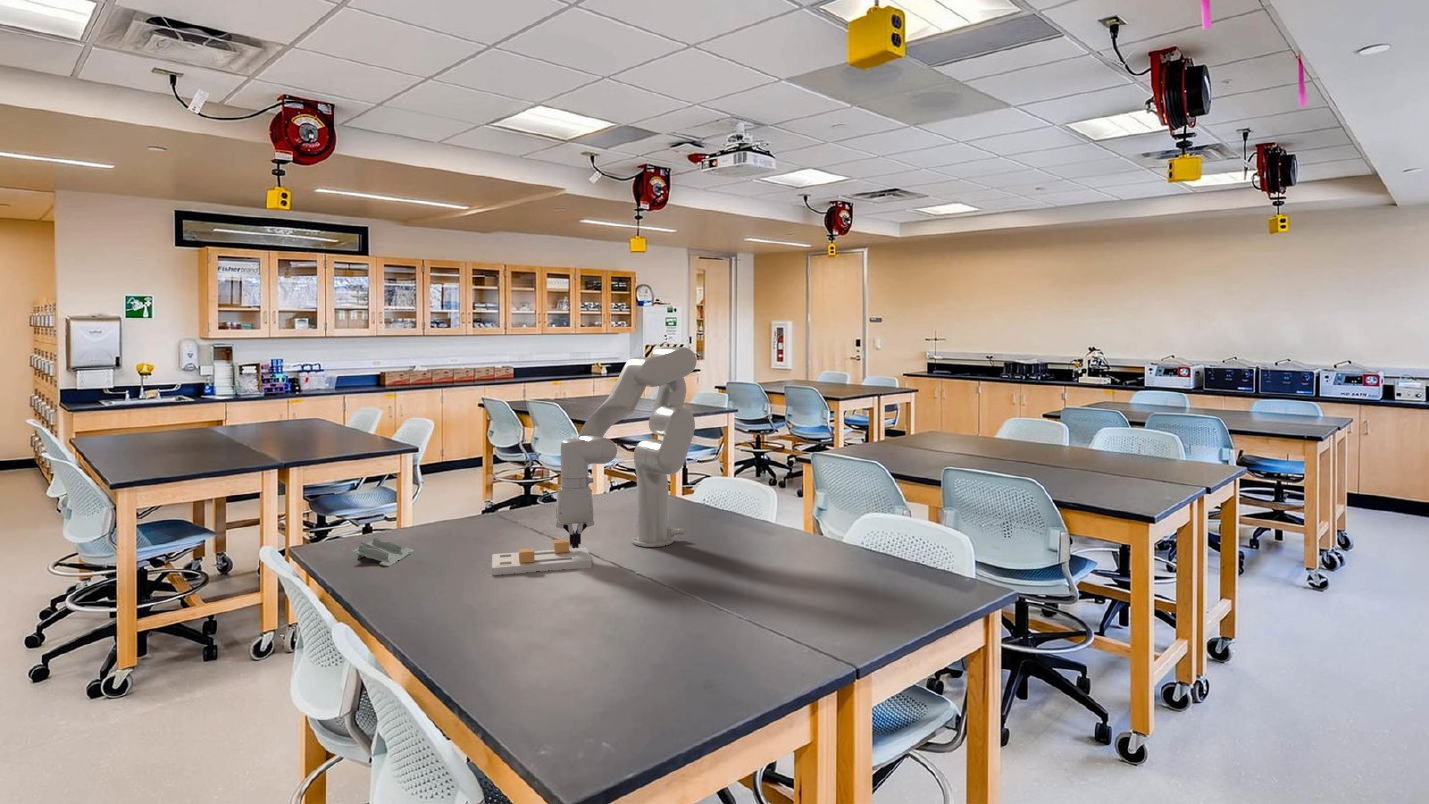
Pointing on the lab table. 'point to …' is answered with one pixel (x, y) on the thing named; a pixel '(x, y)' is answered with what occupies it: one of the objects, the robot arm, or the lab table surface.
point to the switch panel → (541, 561)
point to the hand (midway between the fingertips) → (575, 546)
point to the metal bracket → (382, 551)
